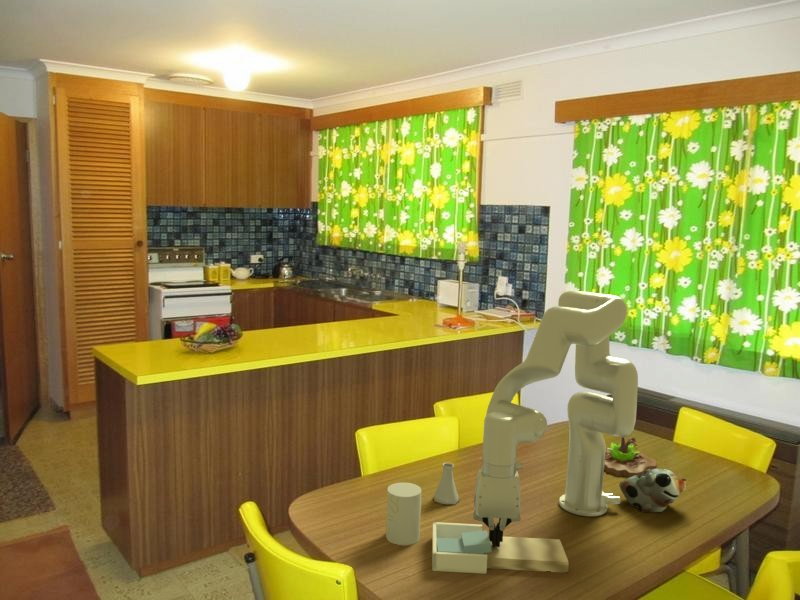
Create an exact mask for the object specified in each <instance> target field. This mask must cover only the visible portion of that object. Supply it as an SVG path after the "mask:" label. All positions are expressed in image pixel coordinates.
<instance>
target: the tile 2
mask: <svg viewBox="0 0 800 600" xmlns="http://www.w3.org/2000/svg"><path fill="white" fill-rule="evenodd" d="M461 536H462V542H463V546H464V551H465V553H467V554H481V553H490V552H491V543H490V539H489V532H488V531H487V529H486V530H482V531H476V532H466V533H461Z"/></svg>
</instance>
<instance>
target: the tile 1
mask: <svg viewBox="0 0 800 600" xmlns="http://www.w3.org/2000/svg"><path fill="white" fill-rule="evenodd" d="M436 541H437V552H449V553H465V551H464V546H463V542H462V539H460V538H436Z"/></svg>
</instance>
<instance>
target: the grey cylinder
mask: <svg viewBox="0 0 800 600" xmlns="http://www.w3.org/2000/svg"><path fill="white" fill-rule="evenodd" d="M386 490H387V492H386V493H387V495H386V499H387V500H386V525H385V526H386V528H385V539H386V538H387V539H386V540H387V541H388V542H389V543H391V544H394V545H396V544H397V546H410V545H414V544H416V543H417V542H419V540H420V539H421V537H420V535H421V514H422V513H421V511H422V487H420V486H419V485H417V484H415V483H412V482H395V483H393V484H390V485H388V486H387V489H386Z"/></svg>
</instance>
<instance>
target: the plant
mask: <svg viewBox="0 0 800 600" xmlns="http://www.w3.org/2000/svg"><path fill="white" fill-rule="evenodd" d="M620 438H621V441H620V443H618V444H616V443H614V442H611V443H610V446H607V447H606V452H605V464H604V470H605V471H604V472H605V473H606V474H612V475H613V476H615V477H626V478H631V477H632V476H635V475H644V474H645V470H647V469H649V470H652V469H656V468H657V469H658V462H657V460H656V459H655V458H651V457H649V456H647V455H646V454H644V453H640V451H634V450H638V449H639V446H638V444H637V441H638V440H637V439H636V438H635V437H630V438H629V439H627V441H625V440H626V439H625V437H620ZM633 444H634V445H633Z"/></svg>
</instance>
